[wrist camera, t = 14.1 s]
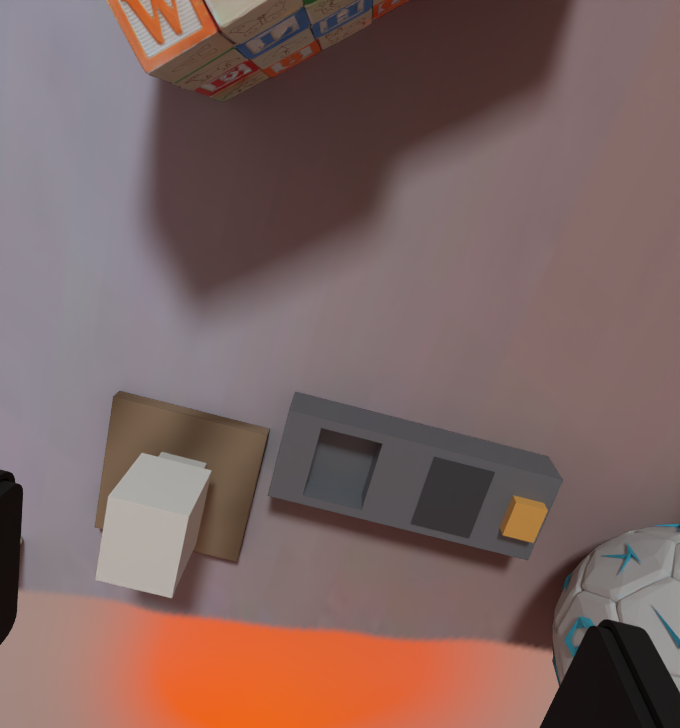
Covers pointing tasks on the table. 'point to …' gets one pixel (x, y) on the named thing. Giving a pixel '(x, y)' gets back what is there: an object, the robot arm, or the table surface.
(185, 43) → the stack of blocks
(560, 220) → the table surface
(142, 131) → the table surface
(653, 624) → the puzzle ball
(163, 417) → the pad
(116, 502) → the block
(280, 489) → the power strip
